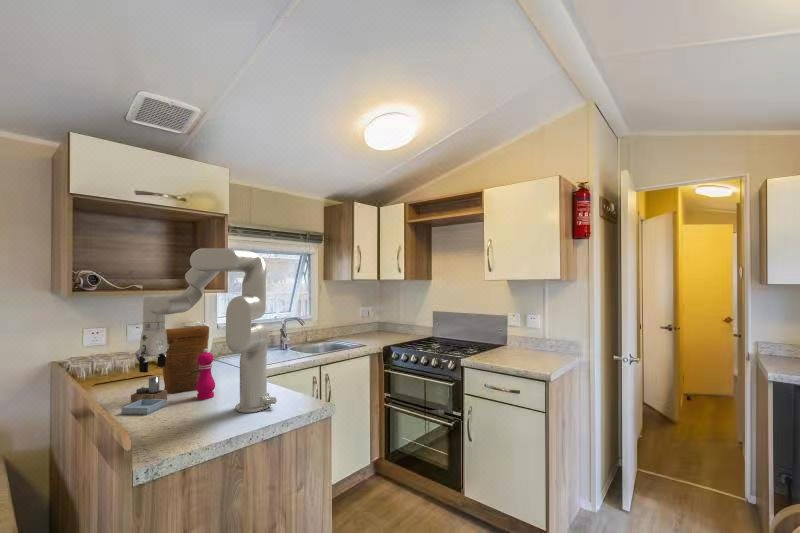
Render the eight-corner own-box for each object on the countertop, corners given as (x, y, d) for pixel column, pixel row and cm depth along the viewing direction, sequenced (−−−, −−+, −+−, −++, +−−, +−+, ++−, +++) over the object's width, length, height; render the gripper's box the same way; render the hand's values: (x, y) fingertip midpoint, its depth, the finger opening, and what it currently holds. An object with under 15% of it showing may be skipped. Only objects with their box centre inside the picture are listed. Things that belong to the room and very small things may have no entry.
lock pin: (161, 401, 156) (161, 376, 157) (154, 404, 153) (154, 378, 153) (152, 401, 157) (153, 376, 157) (146, 404, 153) (146, 378, 153)
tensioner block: (167, 399, 158) (167, 385, 158) (154, 405, 151) (154, 389, 151) (144, 399, 159) (144, 384, 159) (130, 405, 152) (130, 389, 152)
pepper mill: (219, 395, 163) (219, 347, 164) (206, 400, 156) (206, 350, 157) (204, 394, 165) (204, 346, 166) (191, 399, 158) (191, 349, 159)
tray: (166, 405, 151) (166, 399, 151) (147, 414, 141) (147, 407, 141) (142, 405, 152) (142, 398, 152) (121, 414, 142) (121, 407, 142)
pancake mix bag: (210, 389, 173) (210, 325, 174) (159, 396, 163) (159, 329, 164) (209, 385, 179) (209, 324, 179) (160, 392, 169) (160, 327, 170)
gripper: (146, 329, 147) (145, 375, 146) (177, 323, 164) (176, 364, 163) (127, 328, 147) (126, 374, 147) (160, 323, 165) (159, 364, 164)
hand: (152, 369), depth 155 cm, fingers open, 9 cm apart
